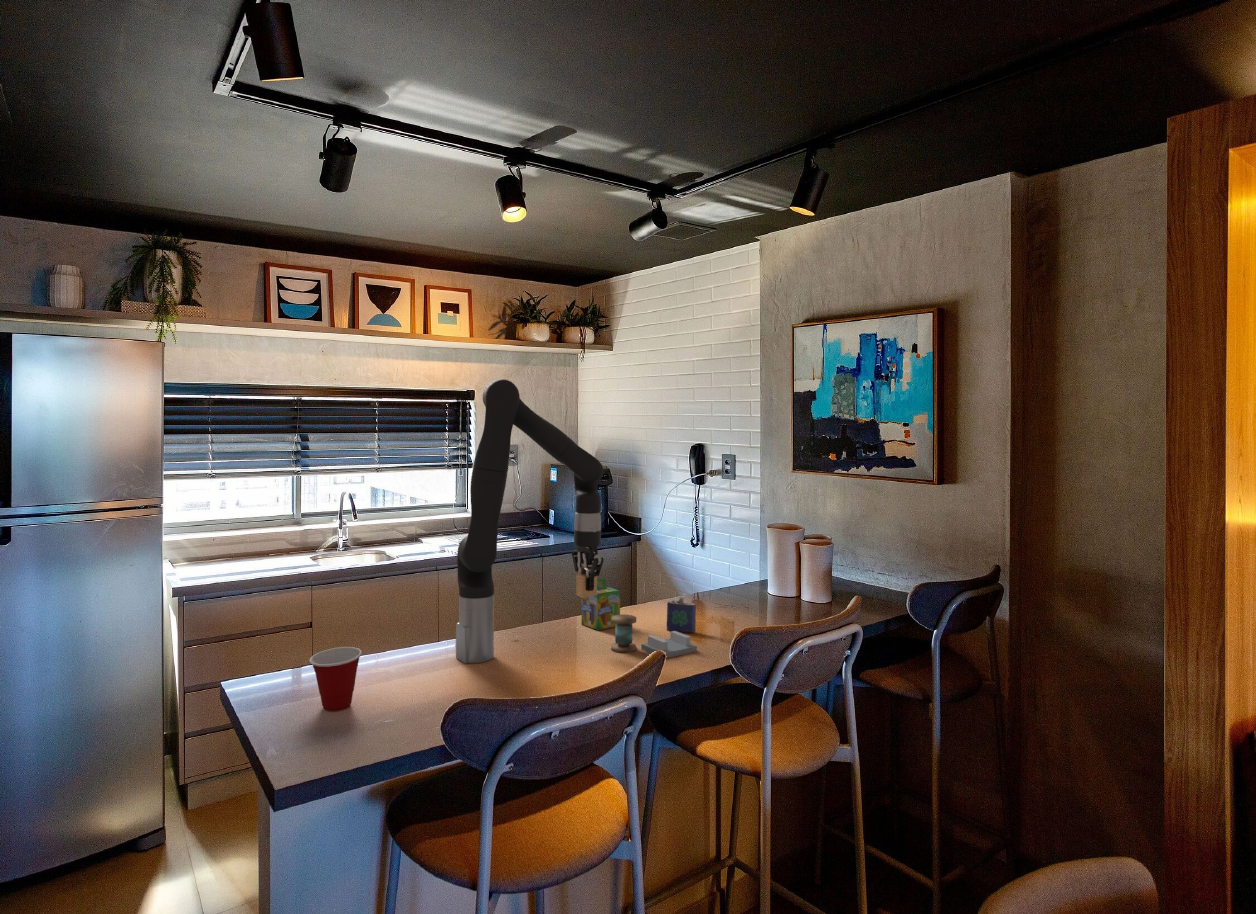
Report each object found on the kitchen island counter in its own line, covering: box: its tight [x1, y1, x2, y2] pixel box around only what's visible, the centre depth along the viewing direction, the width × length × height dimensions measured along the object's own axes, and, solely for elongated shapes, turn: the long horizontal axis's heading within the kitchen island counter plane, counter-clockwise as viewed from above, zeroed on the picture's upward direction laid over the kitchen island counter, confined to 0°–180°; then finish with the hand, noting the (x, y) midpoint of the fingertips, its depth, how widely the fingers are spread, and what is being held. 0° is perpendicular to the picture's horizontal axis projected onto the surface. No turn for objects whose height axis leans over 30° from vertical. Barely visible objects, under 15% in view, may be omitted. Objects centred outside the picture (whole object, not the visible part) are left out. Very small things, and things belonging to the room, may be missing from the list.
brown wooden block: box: [575, 573, 598, 598], centre depth 209 cm, size 5×3×6 cm, turn 125°
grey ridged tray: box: [640, 631, 698, 659], centre depth 209 cm, size 12×10×4 cm
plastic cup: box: [309, 646, 363, 713], centre depth 164 cm, size 11×11×12 cm
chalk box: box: [580, 577, 621, 631], centre depth 234 cm, size 9×9×15 cm
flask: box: [666, 596, 697, 635], centre depth 228 cm, size 9×3×11 cm, turn 68°
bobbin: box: [610, 613, 637, 654], centre depth 209 cm, size 7×7×9 cm
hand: (586, 589), depth 209 cm, fingers closed on brown wooden block, 2 cm apart
